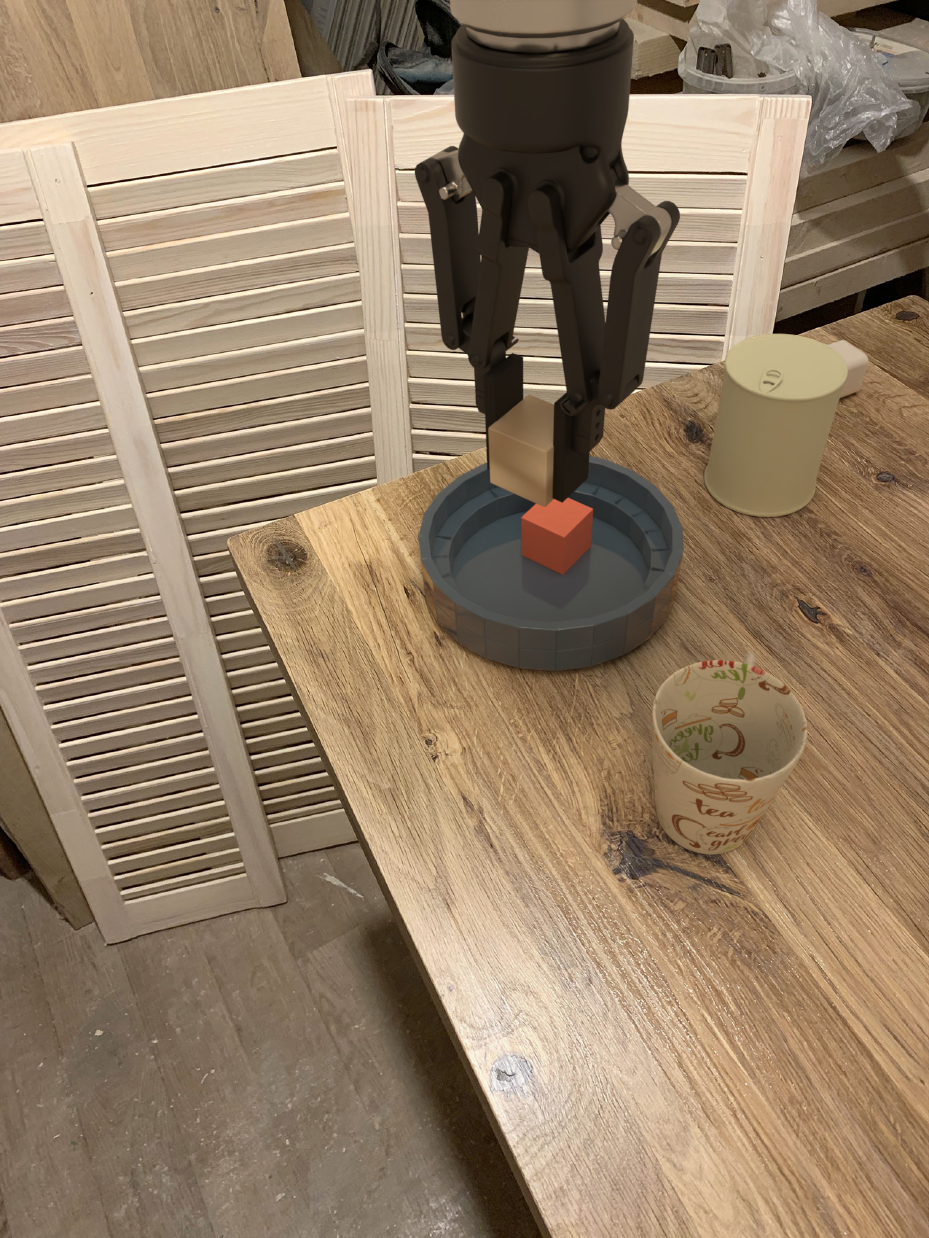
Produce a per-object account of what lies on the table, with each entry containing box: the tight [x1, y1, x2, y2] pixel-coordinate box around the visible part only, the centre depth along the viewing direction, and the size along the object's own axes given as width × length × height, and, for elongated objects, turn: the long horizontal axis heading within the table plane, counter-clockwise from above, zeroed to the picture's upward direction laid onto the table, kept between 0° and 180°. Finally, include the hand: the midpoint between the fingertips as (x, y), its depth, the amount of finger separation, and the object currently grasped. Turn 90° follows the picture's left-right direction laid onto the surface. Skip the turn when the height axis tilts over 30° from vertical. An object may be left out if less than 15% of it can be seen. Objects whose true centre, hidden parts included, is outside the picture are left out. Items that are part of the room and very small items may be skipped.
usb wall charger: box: [826, 339, 869, 399], centre depth 86 cm, size 4×7×4 cm, turn 116°
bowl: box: [417, 455, 684, 672], centre depth 71 cm, size 20×20×5 cm
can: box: [703, 333, 848, 518], centre depth 75 cm, size 9×9×12 cm
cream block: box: [488, 394, 554, 507], centre depth 54 cm, size 4×4×4 cm
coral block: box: [521, 498, 593, 575], centre depth 73 cm, size 4×4×4 cm
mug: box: [650, 651, 808, 855], centre depth 56 cm, size 8×13×10 cm, turn 158°
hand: (537, 472), depth 55 cm, fingers closed on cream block, 4 cm apart
